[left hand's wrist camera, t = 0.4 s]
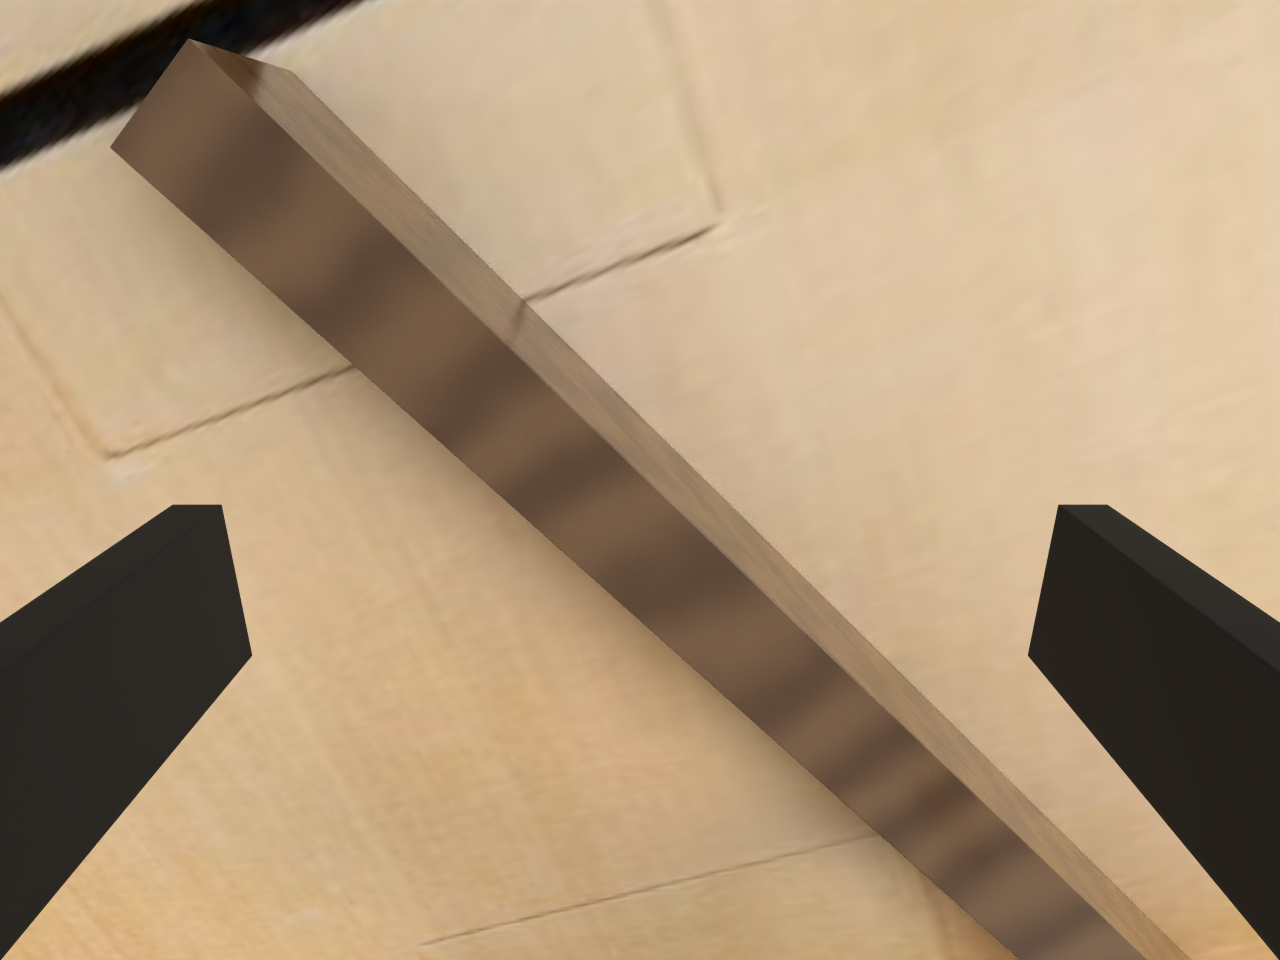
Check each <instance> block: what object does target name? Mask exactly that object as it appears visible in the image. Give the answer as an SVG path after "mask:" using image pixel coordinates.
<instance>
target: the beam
mask: <svg viewBox="0 0 1280 960" xmlns="http://www.w3.org/2000/svg"><path fill="white" fill-rule="evenodd" d="M111 149H112V150H114V151H115V152H116V153H117V154H118V155H119V156H120V157H121V158H122V159H124V160H125V161H126V162H127V163H128V164H129V165H130V166H131V167H133V168H134V169H135V170H136V171H137V172H138V173H139V174H140V175H142V176H143V177H144V178H145V179H146V180H147V181H148V182H149V183H151V184H152V185H153V186H154V187H155V188H156V189H157V190H158V191H159V192H161V193H162V194H163V195H164V196H165V197H166V198H167V199H168V200H170V201H171V202H172V203H173V204H174V205H175V206H176V207H177V208H179V209H180V210H181V211H182V212H183V213H184V214H185V215H186V216H187V217H189V218H190V219H191V220H192V221H193V222H194V223H195V224H196V225H198V226H199V227H200V228H201V229H202V230H203V231H204V232H205V233H207V234H208V235H209V236H210V237H211V238H212V239H213V240H214V241H215V242H217V243H218V244H219V245H220V246H221V247H222V248H223V249H224V250H226V251H227V252H228V253H229V254H230V255H231V256H232V257H233V258H235V259H236V260H237V261H238V262H239V263H240V264H241V265H242V266H243V267H245V268H246V269H247V270H248V271H249V272H250V273H251V274H252V275H254V276H255V277H256V278H257V279H258V280H259V281H260V282H261V283H263V284H264V285H265V286H266V287H267V288H268V289H269V290H270V291H271V292H273V293H274V294H275V295H276V296H277V297H278V298H279V299H280V300H282V301H283V302H284V303H285V304H286V305H287V306H288V307H289V308H291V309H292V310H293V311H294V312H295V313H296V314H297V315H298V316H299V317H301V318H302V319H303V320H304V321H305V322H306V323H307V324H308V325H310V326H311V327H312V328H313V329H314V330H315V331H316V332H317V333H319V334H320V335H321V336H322V337H323V338H324V339H325V340H326V341H327V342H329V343H330V344H331V345H332V346H333V347H334V348H335V349H336V350H338V351H339V352H340V353H341V354H342V355H343V356H344V357H345V358H347V359H348V360H349V361H350V362H351V363H352V364H353V365H354V366H355V367H357V368H358V369H359V370H360V371H361V372H362V373H363V374H364V375H366V376H367V377H368V378H369V379H370V380H371V381H372V382H373V383H375V384H376V385H377V386H378V387H379V388H380V389H381V390H382V391H383V392H385V393H386V394H387V395H388V396H389V397H390V398H391V399H392V400H394V401H395V402H396V403H397V404H398V405H399V406H400V407H401V408H403V409H404V410H405V411H406V412H407V413H408V414H409V415H410V416H411V417H413V418H414V419H415V420H416V421H417V422H418V423H419V424H420V425H422V426H423V427H424V428H425V429H426V430H427V431H428V432H429V433H431V434H432V435H433V436H434V437H435V438H436V439H437V440H438V441H440V442H441V443H442V444H443V445H444V446H445V447H446V448H447V449H448V450H450V451H451V452H452V453H453V454H454V455H455V456H456V457H457V458H459V459H460V460H461V461H462V462H463V463H464V464H465V465H466V466H468V467H469V468H470V469H471V470H472V471H473V472H474V473H475V474H476V475H478V476H479V477H480V478H481V479H482V480H483V481H484V482H485V483H487V484H488V485H489V486H490V487H491V488H492V489H493V490H494V491H496V492H497V493H498V494H499V495H500V496H501V497H502V498H503V499H504V500H506V501H507V502H508V503H509V504H510V505H511V506H512V507H513V508H515V509H516V510H517V511H518V512H519V513H520V514H521V515H522V516H524V517H525V518H526V519H527V520H528V521H529V522H530V523H531V524H532V525H534V526H535V527H536V528H537V529H538V530H539V531H540V532H541V533H543V534H544V535H545V536H546V537H547V538H548V539H549V540H550V541H552V542H553V543H554V544H555V545H556V546H557V547H558V548H559V549H560V550H562V551H563V552H564V553H565V554H566V555H567V556H568V557H569V558H571V559H572V560H573V561H574V562H575V563H576V564H577V565H578V566H580V567H581V568H582V569H583V570H584V571H585V572H586V573H587V574H588V575H590V576H591V577H592V578H593V579H594V580H595V581H596V582H597V583H599V584H600V585H601V586H602V587H603V588H604V589H605V590H606V591H608V592H609V593H610V594H611V595H612V596H613V597H614V598H615V599H616V600H618V601H619V602H620V603H621V604H622V605H623V606H624V607H625V608H627V609H628V610H629V611H630V612H631V613H632V614H633V615H634V616H636V617H637V618H638V619H639V620H640V621H641V622H642V623H643V624H644V625H646V626H647V627H648V628H649V629H650V630H651V631H652V632H653V633H655V634H656V635H657V636H658V637H659V638H660V639H661V640H662V641H664V642H665V643H666V644H667V645H668V646H669V647H670V648H671V649H672V650H674V651H675V652H676V653H677V654H678V655H679V656H680V657H681V658H683V659H684V660H685V661H686V662H687V663H688V664H689V665H690V666H692V667H693V668H694V669H695V670H696V671H697V672H698V673H699V674H700V675H702V676H703V677H704V678H705V679H706V680H707V681H708V682H709V683H711V684H712V685H713V686H714V687H715V688H716V689H717V690H718V691H720V692H721V693H722V694H723V695H724V696H725V697H726V698H727V699H729V700H730V701H731V702H732V703H733V704H734V705H735V706H736V707H737V708H739V709H740V710H741V711H742V712H743V713H744V714H745V715H746V716H748V717H749V718H750V719H751V720H752V721H753V722H754V723H755V724H757V725H758V726H759V727H760V728H761V729H762V730H763V731H764V732H765V733H767V734H768V735H769V736H770V737H771V738H772V739H773V740H774V741H776V742H777V743H778V744H779V745H780V746H781V747H782V748H783V749H785V750H786V751H787V752H788V753H789V754H790V755H791V756H792V757H793V758H795V759H796V760H797V761H798V762H799V763H800V764H801V765H802V766H804V767H805V768H806V769H807V770H808V771H809V772H810V773H811V774H813V775H814V776H815V777H816V778H817V779H818V780H819V781H820V782H821V783H823V784H824V785H825V786H826V787H827V788H828V789H829V790H830V791H832V792H833V793H834V794H835V795H836V796H837V797H838V798H839V799H841V800H842V801H843V802H844V803H845V804H846V805H847V806H848V807H849V808H851V809H852V810H853V811H854V812H855V813H856V814H857V815H858V816H860V817H861V818H862V819H863V820H864V821H865V822H866V823H867V824H869V825H870V826H871V827H872V828H873V829H874V830H875V831H876V832H877V833H879V834H880V835H881V836H882V837H883V838H884V839H885V840H886V841H888V842H889V843H890V844H891V845H892V846H893V847H894V848H895V849H897V850H898V851H899V852H900V853H901V854H902V855H903V856H904V857H905V858H907V859H908V860H909V861H910V862H911V863H912V864H913V865H914V866H916V867H917V868H918V869H919V870H920V871H921V872H922V873H923V874H925V875H926V876H927V877H928V878H929V879H930V880H931V881H932V882H933V883H935V884H936V885H937V886H938V887H939V888H940V889H941V890H942V891H944V892H945V893H946V894H947V895H948V896H949V897H950V898H951V899H953V900H954V901H955V902H956V903H957V904H958V905H959V906H960V907H961V908H963V909H964V910H965V911H966V912H967V913H968V914H969V915H970V916H972V917H973V918H974V919H975V920H976V921H977V922H978V923H979V924H981V925H982V926H983V927H984V928H985V929H986V930H987V931H988V932H990V933H991V934H992V935H993V936H994V937H995V938H996V939H997V940H998V941H1000V942H1001V943H1002V944H1003V945H1004V946H1005V947H1006V948H1007V949H1009V950H1010V951H1011V952H1012V953H1013V954H1014V955H1015V956H1016V957H1018V958H1019V959H1020V960H1191V959H1190V958H1189V957H1188V956H1187V955H1186V954H1185V953H1184V952H1182V951H1181V950H1180V949H1179V948H1178V947H1177V946H1176V945H1175V944H1174V943H1173V942H1172V941H1171V940H1170V939H1169V938H1168V937H1167V936H1166V935H1165V934H1164V933H1163V932H1162V931H1161V930H1160V929H1159V928H1158V927H1157V926H1156V925H1155V924H1154V923H1153V922H1152V921H1151V920H1150V919H1149V918H1148V917H1147V916H1146V915H1145V914H1144V913H1143V912H1142V911H1141V910H1140V909H1139V908H1138V907H1137V906H1136V905H1135V904H1134V903H1133V902H1132V901H1131V900H1130V899H1129V898H1128V897H1127V896H1126V895H1125V894H1124V893H1123V892H1122V891H1121V890H1120V889H1119V888H1118V887H1117V886H1116V885H1115V884H1114V883H1113V882H1112V881H1111V880H1110V879H1109V878H1108V877H1107V876H1106V875H1105V874H1103V873H1102V872H1101V871H1100V870H1099V869H1098V868H1097V867H1096V866H1095V865H1094V864H1093V863H1092V862H1091V861H1090V860H1089V859H1088V858H1087V857H1086V856H1085V855H1084V854H1083V853H1082V852H1081V851H1080V850H1079V849H1078V848H1077V847H1076V846H1075V845H1074V844H1073V843H1072V842H1071V841H1070V840H1069V839H1068V838H1067V837H1066V836H1065V835H1064V834H1063V833H1062V832H1061V831H1060V830H1059V829H1058V828H1057V827H1056V826H1055V825H1054V824H1053V823H1052V822H1051V821H1050V820H1049V819H1048V818H1047V817H1046V816H1045V815H1044V814H1043V813H1042V812H1041V811H1040V810H1039V809H1038V808H1037V807H1036V806H1035V805H1034V804H1033V803H1032V802H1031V801H1030V800H1029V799H1028V798H1027V797H1026V796H1025V795H1023V794H1022V793H1021V792H1020V791H1019V790H1018V789H1017V788H1016V787H1015V786H1014V785H1013V784H1012V783H1011V782H1010V781H1009V780H1008V779H1007V778H1006V777H1005V776H1004V775H1003V774H1002V773H1001V772H1000V771H999V770H998V769H997V768H996V767H995V766H994V765H993V764H992V763H991V762H990V761H989V760H988V759H987V758H986V757H985V756H984V755H983V754H982V753H981V752H980V751H979V750H978V749H977V748H976V747H975V746H974V745H973V744H972V743H971V742H970V741H969V740H968V739H967V738H966V737H965V736H964V735H963V734H962V733H961V732H960V731H959V730H958V729H957V728H956V727H955V726H954V725H953V724H952V723H951V722H950V721H949V720H948V719H947V718H946V717H944V716H943V715H942V714H941V713H940V712H939V711H938V710H937V709H936V708H935V707H934V706H933V705H932V704H931V703H930V702H929V701H928V700H927V699H926V698H925V697H924V696H923V695H922V694H921V693H920V692H919V691H918V690H917V689H916V688H915V687H914V686H913V685H912V684H911V683H910V682H909V681H908V680H907V679H906V678H905V677H904V676H903V675H902V674H901V673H900V672H899V671H898V670H897V669H896V668H895V667H894V666H893V665H892V664H891V663H890V662H889V661H888V660H887V659H886V658H885V657H884V656H883V655H882V654H881V653H880V652H879V651H878V650H877V649H876V648H875V647H874V646H873V645H872V644H871V643H870V642H869V641H868V640H867V639H866V638H864V637H863V636H862V635H861V634H860V633H859V632H858V631H857V630H856V629H855V628H854V627H853V626H852V625H851V624H850V623H849V622H848V621H847V620H846V619H845V618H844V617H843V616H842V615H841V614H840V613H839V612H838V611H837V610H836V609H835V608H834V607H833V606H832V605H831V604H830V603H829V602H828V601H827V600H826V599H825V598H824V597H823V596H822V595H821V594H820V593H819V592H818V591H817V590H816V589H815V588H814V587H813V586H812V585H811V584H810V583H809V582H808V581H807V580H806V579H805V578H804V577H803V576H802V575H801V574H800V573H799V572H798V571H797V570H796V569H795V568H794V567H793V566H792V565H791V564H790V563H789V562H788V561H787V560H786V559H784V558H783V557H782V556H781V555H780V554H779V553H778V552H777V551H776V550H775V549H774V548H773V547H772V546H771V545H770V544H769V543H768V542H767V541H766V540H765V539H764V538H763V537H762V536H761V535H760V534H759V533H758V532H757V531H756V530H755V529H754V528H753V527H752V526H751V525H750V524H749V523H748V522H747V521H746V520H745V519H744V518H743V517H742V516H741V515H740V514H739V513H738V512H737V511H736V510H735V509H734V508H733V507H732V506H731V505H730V504H729V503H728V502H727V501H726V500H725V499H724V498H723V497H722V496H721V495H720V494H719V493H718V492H717V491H716V490H715V489H714V488H713V487H712V486H711V485H710V484H709V483H708V482H707V481H705V480H704V479H703V478H702V477H701V476H700V475H699V474H698V473H697V472H696V471H695V470H694V469H693V468H692V467H691V466H690V465H689V464H688V463H687V462H686V461H685V460H684V459H683V458H682V457H681V456H680V455H679V454H678V453H677V452H676V451H675V450H674V449H673V448H672V447H671V446H670V445H669V444H668V443H667V442H666V441H665V440H664V439H663V438H662V437H661V436H660V435H659V434H658V433H657V432H656V431H655V430H654V429H653V428H652V427H651V426H650V425H649V424H648V423H647V422H646V421H645V420H644V419H643V418H642V417H641V416H640V415H639V414H638V413H637V412H636V411H635V410H634V409H633V408H632V407H631V406H630V405H629V404H628V403H627V402H625V401H624V400H623V399H622V398H621V397H620V396H619V395H618V394H617V393H616V392H615V391H614V390H613V389H612V388H611V387H610V386H609V385H608V384H607V383H606V382H605V381H604V380H603V379H602V378H601V377H600V376H599V375H598V374H597V373H596V372H595V371H594V370H593V369H592V368H591V367H590V366H589V365H588V364H587V363H586V362H585V361H584V360H583V359H582V358H581V357H580V356H579V355H578V354H577V353H576V352H575V351H574V350H573V349H572V348H571V347H570V346H569V345H568V344H567V343H566V342H565V341H564V340H563V339H562V338H561V337H560V336H559V335H558V334H557V333H556V332H555V331H554V330H553V329H552V328H551V327H550V326H549V325H548V324H546V323H545V322H544V321H543V320H542V319H541V318H540V317H539V316H538V315H537V314H536V313H535V312H534V311H533V310H532V309H531V308H530V307H529V306H528V305H527V304H526V303H525V302H524V301H523V300H522V299H521V298H520V297H519V296H518V295H517V294H516V293H515V292H514V291H513V290H512V289H511V288H510V287H509V286H508V285H507V284H506V283H505V282H504V281H503V280H502V279H501V278H500V277H499V276H498V275H497V274H496V273H495V272H494V271H493V270H492V269H491V268H490V267H489V266H488V265H487V264H486V263H485V262H484V261H483V260H482V259H481V258H480V257H479V256H478V255H477V254H476V253H475V252H474V251H473V250H472V249H471V248H470V247H469V246H468V245H466V244H465V243H464V242H463V241H462V240H461V239H460V238H459V237H458V236H457V235H456V234H455V233H454V232H453V231H452V230H451V229H450V228H449V227H448V226H447V225H446V224H445V223H444V222H443V221H442V220H441V219H440V218H439V217H438V216H437V215H436V214H435V213H434V212H433V211H432V210H431V209H430V208H429V207H428V206H427V205H426V204H425V203H424V202H423V201H422V200H421V199H420V198H419V197H418V196H417V195H416V194H415V193H414V192H413V191H412V190H411V189H410V188H409V187H408V186H407V185H406V184H405V183H404V182H403V181H402V180H401V179H400V178H399V177H398V176H397V175H396V174H395V173H394V172H393V171H392V170H391V169H390V168H389V167H387V166H386V165H385V164H384V163H383V162H382V161H381V160H380V159H379V158H378V157H377V156H376V155H375V154H374V153H373V152H372V151H371V150H370V149H369V148H368V147H367V146H366V145H365V144H364V143H363V142H362V141H361V140H360V139H359V138H358V137H357V136H356V135H355V134H354V133H353V132H352V131H351V130H350V129H349V128H348V127H347V126H346V125H345V124H344V123H343V122H342V121H341V120H340V119H339V118H338V117H337V116H336V115H335V114H334V113H333V112H332V111H331V110H330V109H329V108H328V107H327V106H326V105H325V104H324V103H323V102H322V101H321V100H320V99H319V98H318V97H317V96H316V95H315V94H314V93H313V92H312V91H311V90H310V89H309V88H307V87H306V86H305V85H304V84H303V83H302V82H301V81H300V80H299V79H298V78H297V77H296V76H295V75H294V74H293V73H292V72H291V71H289V70H286V69H282V68H279V67H276V66H273V65H270V64H267V63H264V62H260V61H257V60H254V59H251V58H248V57H245V56H241V55H238V54H235V53H232V52H229V51H226V50H222V49H219V48H216V47H213V46H210V45H207V44H204V43H200V42H197V41H194V40H191V39H188V40H187V41H186V43H185V44H184V45H183V47H182V48H181V50H180V51H179V52H178V54H177V55H176V57H175V58H174V59H173V61H172V62H171V63H170V65H169V66H168V68H167V69H166V70H165V72H164V73H163V75H162V76H161V77H160V79H159V80H158V81H157V83H156V84H155V86H154V87H153V88H152V90H151V91H150V93H149V94H148V95H147V97H146V98H145V100H144V101H143V102H142V104H141V105H140V106H139V108H138V109H137V111H136V112H135V113H134V115H133V116H132V118H131V119H130V120H129V122H128V123H127V124H126V126H125V127H124V129H123V130H122V131H121V133H120V134H119V136H118V137H117V138H116V140H115V141H114V142H113V144H112V145H111Z"/></svg>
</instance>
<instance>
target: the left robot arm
mask: <svg viewBox="0 0 1280 960" xmlns="http://www.w3.org/2000/svg"><path fill="white" fill-rule="evenodd" d="M251 656H252V652H251V647H250V642H249V638H248V633H247V628H246V623H245V618H244V613H243V608H242V603H241V598H240V593H239V588H238V583H237V578H236V574H235V569H234V564H233V559H232V554H231V549H230V544H229V539H228V534H227V529H226V524H225V519H224V514H223V509H222V505H172V506H170V507H169V508H167V509H166V510H164V511H163V512H161V513H160V514H158V515H157V516H156V517H154V518H153V519H151V520H150V521H148V522H147V523H145V524H144V525H142V526H141V527H139V528H138V529H136V530H135V531H134V532H132V533H131V534H129V535H128V536H126V537H125V538H123V539H122V540H120V541H119V542H117V543H116V544H115V545H113V546H112V547H110V548H109V549H107V550H106V551H104V552H103V553H101V554H100V555H98V556H97V557H95V558H94V559H93V560H91V561H90V562H88V563H87V564H85V565H84V566H82V567H81V568H79V569H78V570H76V571H75V572H74V573H72V574H71V575H69V576H68V577H66V578H65V579H63V580H62V581H60V582H59V583H57V584H56V585H55V586H53V587H52V588H50V589H49V590H47V591H46V592H44V593H43V594H41V595H40V596H38V597H37V598H35V599H34V600H33V601H31V602H30V603H28V604H27V605H25V606H24V607H22V608H21V609H19V610H18V611H16V612H15V613H14V614H12V615H11V616H9V617H8V618H6V619H5V620H3V621H2V622H0V960H1V959H2V958H3V957H4V956H5V954H6V953H7V952H8V951H9V949H10V948H11V947H12V946H13V945H14V943H15V942H16V941H17V940H18V939H19V937H20V936H21V935H22V934H23V933H24V931H25V930H26V929H27V928H28V926H29V925H30V924H31V923H32V922H33V920H34V919H35V918H36V917H37V916H38V914H39V913H40V912H41V911H42V909H43V908H44V907H45V906H46V905H47V903H48V902H49V901H50V900H51V899H52V897H53V896H54V895H55V894H56V893H57V891H58V890H59V889H60V888H61V886H62V885H63V884H64V883H65V882H66V880H67V879H68V878H69V877H70V876H71V874H72V873H73V872H74V871H75V870H76V868H77V867H78V866H79V865H80V863H81V862H82V861H83V860H84V859H85V857H86V856H87V855H88V854H89V853H90V851H91V850H92V849H93V848H94V846H95V845H96V844H97V843H98V842H99V840H100V839H101V838H102V837H103V836H104V834H105V833H106V832H107V831H108V830H109V828H110V827H111V826H112V825H113V823H114V822H115V821H116V820H117V819H118V817H119V816H120V815H121V814H122V813H123V811H124V810H125V809H126V808H127V806H128V805H129V804H130V803H131V802H132V800H133V799H134V798H135V797H136V796H137V794H138V793H139V792H140V791H141V790H142V788H143V787H144V786H145V785H146V783H147V782H148V781H149V780H150V779H151V777H152V776H153V775H154V774H155V773H156V771H157V770H158V769H159V768H160V767H161V765H162V764H163V763H164V762H165V760H166V759H167V758H168V757H169V756H170V754H171V753H172V752H173V751H174V750H175V748H176V747H177V746H178V745H179V743H180V742H181V741H182V740H183V739H184V737H185V736H186V735H187V734H188V733H189V731H190V730H191V729H192V728H193V727H194V725H195V724H196V723H197V722H198V720H199V719H200V718H201V717H202V716H203V714H204V713H205V712H206V711H207V710H208V708H209V707H210V706H211V705H212V703H213V702H214V701H215V700H216V699H217V697H218V696H219V695H220V694H221V693H222V691H223V690H224V689H225V688H226V687H227V685H228V684H229V683H230V682H231V680H232V679H233V678H234V677H235V676H236V674H237V673H238V672H239V671H240V670H241V668H242V667H243V666H244V665H245V664H246V662H247V661H248V660H249V659H250V657H251ZM1028 656H1029V657H1030V659H1031V660H1032V661H1033V662H1034V664H1035V665H1036V666H1037V667H1038V668H1039V670H1040V671H1041V672H1042V673H1043V674H1044V676H1045V677H1046V678H1047V679H1048V680H1049V682H1050V683H1051V684H1052V685H1053V687H1054V688H1055V689H1056V690H1057V691H1058V693H1059V694H1060V695H1061V696H1062V697H1063V699H1064V700H1065V701H1066V702H1067V703H1068V705H1069V706H1070V707H1071V708H1072V710H1073V711H1074V712H1075V713H1076V714H1077V716H1078V717H1079V718H1080V719H1081V720H1082V722H1083V723H1084V724H1085V725H1086V727H1087V728H1088V729H1089V730H1090V731H1091V733H1092V734H1093V735H1094V736H1095V737H1096V739H1097V740H1098V741H1099V742H1100V743H1101V745H1102V746H1103V747H1104V748H1105V750H1106V751H1107V752H1108V753H1109V754H1110V756H1111V757H1112V758H1113V759H1114V760H1115V762H1116V763H1117V764H1118V765H1119V767H1120V768H1121V769H1122V770H1123V771H1124V773H1125V774H1126V775H1127V776H1128V777H1129V779H1130V780H1131V781H1132V782H1133V783H1134V785H1135V786H1136V787H1137V788H1138V790H1139V791H1140V792H1141V793H1142V794H1143V796H1144V797H1145V798H1146V799H1147V800H1148V802H1149V803H1150V804H1151V805H1152V806H1153V808H1154V809H1155V810H1156V811H1157V813H1158V814H1159V815H1160V816H1161V817H1162V819H1163V820H1164V821H1165V822H1166V823H1167V825H1168V826H1169V827H1170V828H1171V830H1172V831H1173V832H1174V833H1175V834H1176V836H1177V837H1178V838H1179V839H1180V840H1181V842H1182V843H1183V844H1184V845H1185V846H1186V848H1187V849H1188V850H1189V851H1190V853H1191V854H1192V855H1193V856H1194V857H1195V859H1196V860H1197V861H1198V862H1199V863H1200V865H1201V866H1202V867H1203V868H1204V870H1205V871H1206V872H1207V873H1208V874H1209V876H1210V877H1211V878H1212V879H1213V880H1214V882H1215V883H1216V884H1217V885H1218V886H1219V888H1220V889H1221V890H1222V891H1223V893H1224V894H1225V895H1226V896H1227V897H1228V899H1229V900H1230V901H1231V902H1232V903H1233V905H1234V906H1235V907H1236V908H1237V909H1238V911H1239V912H1240V913H1241V914H1242V916H1243V917H1244V918H1245V919H1246V920H1247V922H1248V923H1249V924H1250V925H1251V926H1252V928H1253V929H1254V930H1255V931H1256V933H1257V934H1258V935H1259V936H1260V937H1261V939H1262V940H1263V941H1264V942H1265V943H1266V945H1267V946H1268V947H1269V948H1270V949H1271V951H1272V952H1273V953H1274V954H1275V956H1276V957H1277V958H1278V959H1279V960H1280V622H1278V621H1277V620H1275V619H1274V618H1272V617H1271V616H1269V615H1268V614H1266V613H1265V612H1264V611H1262V610H1261V609H1259V608H1258V607H1256V606H1255V605H1253V604H1252V603H1250V602H1249V601H1247V600H1246V599H1245V598H1243V597H1242V596H1240V595H1239V594H1237V593H1236V592H1234V591H1233V590H1231V589H1230V588H1228V587H1227V586H1225V585H1224V584H1223V583H1221V582H1220V581H1218V580H1217V579H1215V578H1214V577H1212V576H1211V575H1209V574H1208V573H1206V572H1205V571H1204V570H1202V569H1201V568H1199V567H1198V566H1196V565H1195V564H1193V563H1192V562H1190V561H1189V560H1187V559H1186V558H1185V557H1183V556H1182V555H1180V554H1179V553H1177V552H1176V551H1174V550H1173V549H1171V548H1170V547H1168V546H1167V545H1165V544H1164V543H1163V542H1161V541H1160V540H1158V539H1157V538H1155V537H1154V536H1152V535H1151V534H1149V533H1148V532H1146V531H1145V530H1144V529H1142V528H1141V527H1139V526H1138V525H1136V524H1135V523H1133V522H1132V521H1130V520H1129V519H1127V518H1126V517H1124V516H1123V515H1122V514H1120V513H1119V512H1117V511H1116V510H1114V509H1113V508H1111V507H1110V506H1108V505H1058V509H1057V514H1056V519H1055V524H1054V529H1053V534H1052V539H1051V544H1050V549H1049V554H1048V559H1047V564H1046V569H1045V574H1044V578H1043V583H1042V588H1041V593H1040V598H1039V603H1038V608H1037V613H1036V618H1035V623H1034V628H1033V633H1032V638H1031V642H1030V647H1029V652H1028Z"/></svg>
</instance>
